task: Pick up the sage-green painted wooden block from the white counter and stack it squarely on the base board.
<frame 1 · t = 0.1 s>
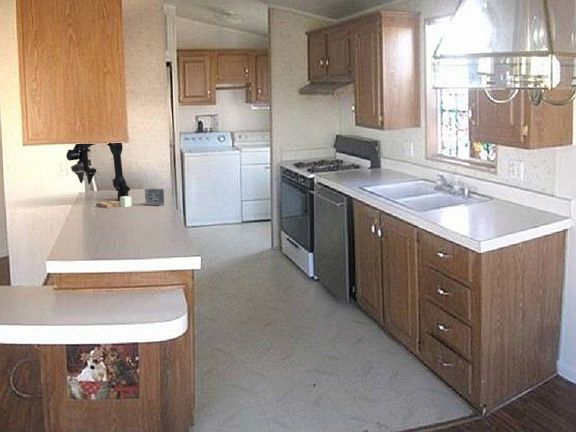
hand: (85, 183, 434), 15 cm above the table, fingers open, 9 cm apart
small box: (155, 205, 435), on the table
block: (126, 206, 434), on the table
base board: (109, 205, 436), on the table
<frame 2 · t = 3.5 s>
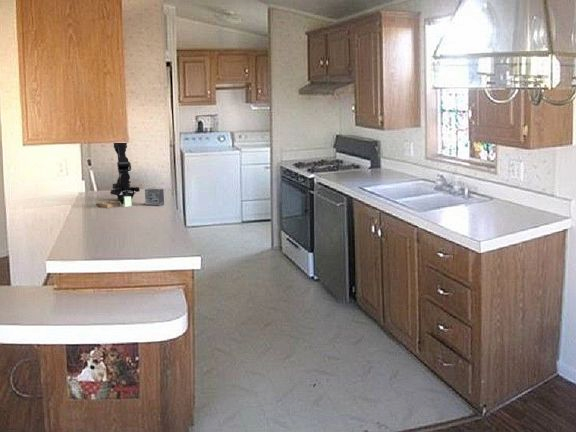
hand: (126, 204, 434), 1 cm above the table, fingers closed on block, 5 cm apart
block: (126, 205, 434), on the table, touching gripper
everything else where it was.
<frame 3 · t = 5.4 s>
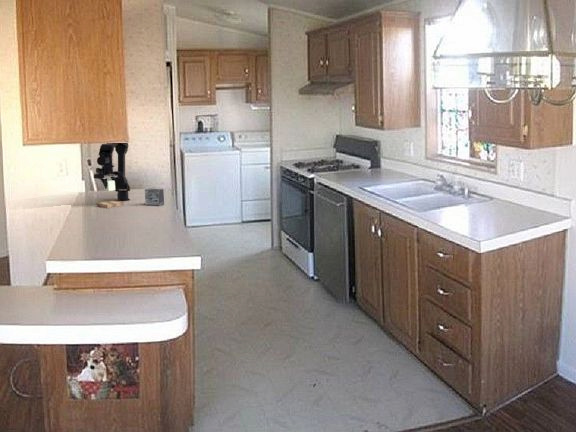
hand: (109, 188, 433), 11 cm above the table, fingers closed on block, 5 cm apart
block: (109, 190, 434), point 10 cm above the table, touching gripper
everything else where it was.
when the fingers open (4 cm above the table, at t = 7.6 s): block stays where it is, resting on base board.
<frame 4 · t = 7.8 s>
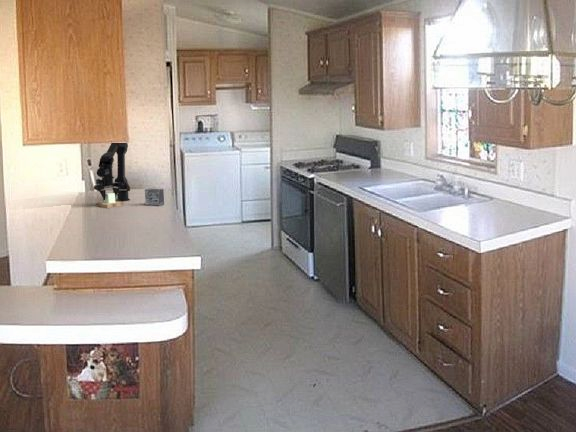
hand: (109, 199, 435), 4 cm above the table, fingers open, 7 cm apart
block: (109, 202, 435), point 2 cm above the table, touching base board
everything else where it was.
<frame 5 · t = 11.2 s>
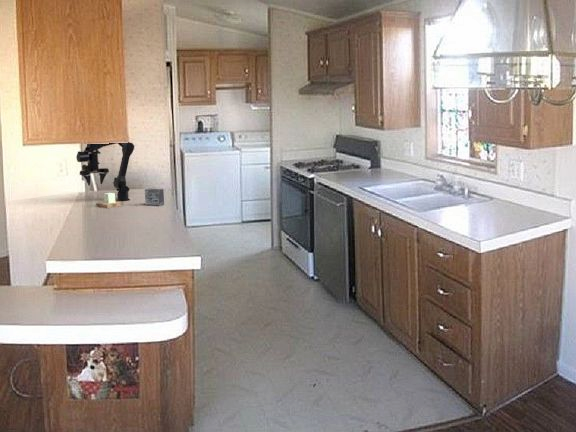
hand: (95, 184, 443), 12 cm above the table, fingers open, 9 cm apart
nothing on the table moved.
at the end: block inside the target area on the base board (0.0 cm from its centre), point 2.1 cm above the base board's base; block tilted 0°; the gripper is holding nothing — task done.
